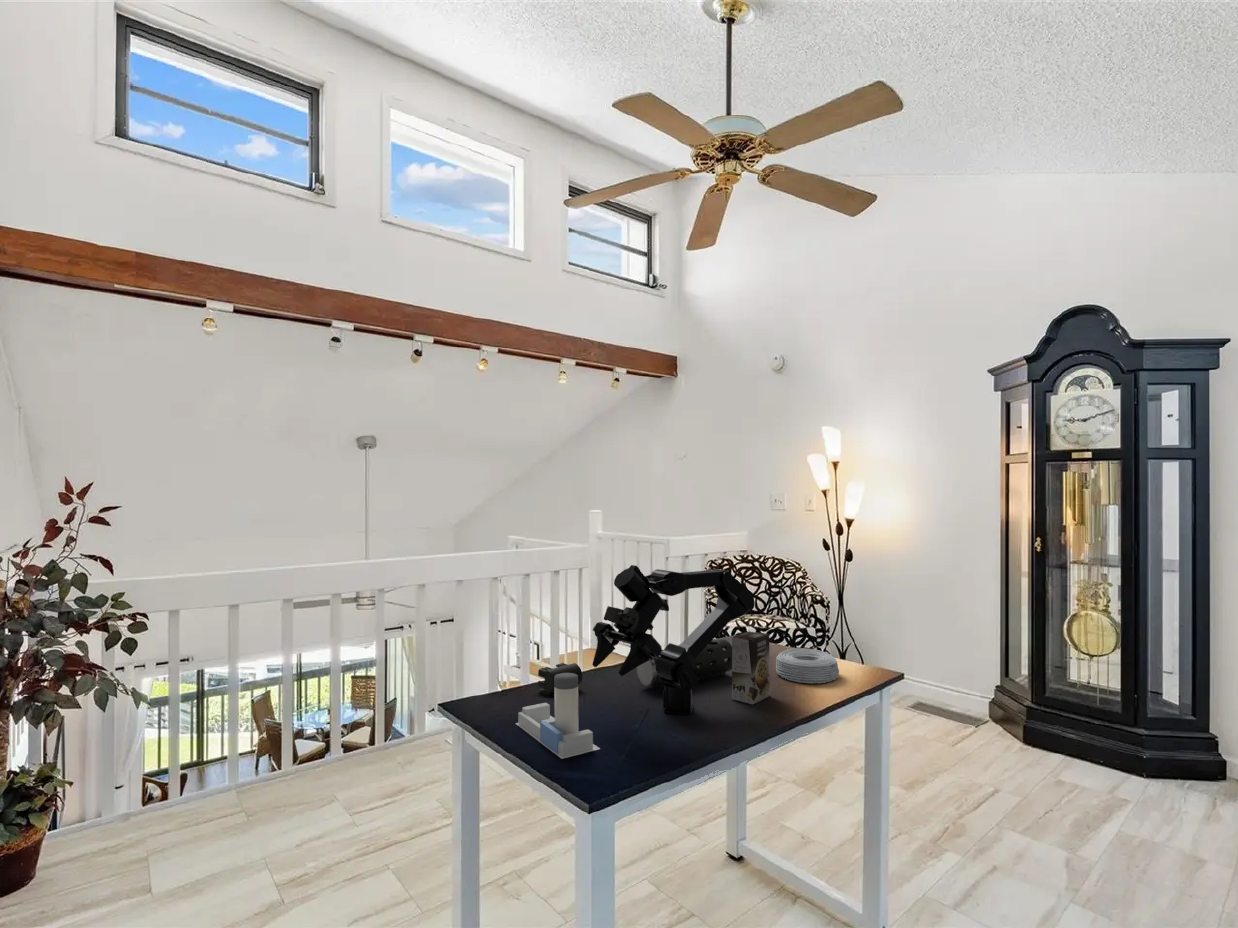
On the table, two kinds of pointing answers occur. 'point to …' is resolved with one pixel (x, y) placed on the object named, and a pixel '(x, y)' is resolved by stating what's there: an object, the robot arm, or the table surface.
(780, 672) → the cable
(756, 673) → the cookie box
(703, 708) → the table surface
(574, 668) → the black piece
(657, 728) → the table surface
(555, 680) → the white capped cylinder
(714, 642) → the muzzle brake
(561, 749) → the white slotted stand
